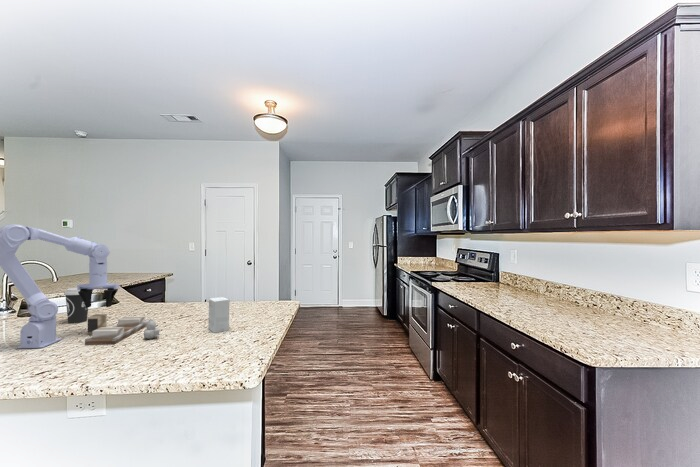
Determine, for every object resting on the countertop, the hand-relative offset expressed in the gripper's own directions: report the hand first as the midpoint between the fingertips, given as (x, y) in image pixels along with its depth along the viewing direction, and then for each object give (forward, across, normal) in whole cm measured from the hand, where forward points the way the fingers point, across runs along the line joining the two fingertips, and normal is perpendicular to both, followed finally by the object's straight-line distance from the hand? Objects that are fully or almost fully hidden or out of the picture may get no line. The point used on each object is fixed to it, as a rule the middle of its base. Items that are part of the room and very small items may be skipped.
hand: (98, 306), depth 131 cm
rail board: (+10, -10, +3) cm, 15 cm away
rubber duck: (+11, -25, +10) cm, 29 cm away
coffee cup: (+10, +19, -17) cm, 28 cm away
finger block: (+10, 0, +1) cm, 10 cm away
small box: (+11, -47, 0) cm, 48 cm away
